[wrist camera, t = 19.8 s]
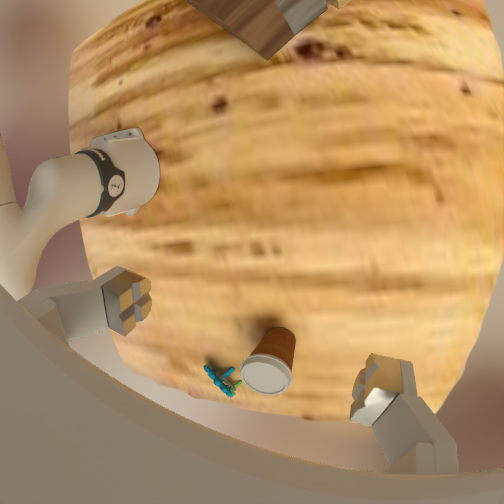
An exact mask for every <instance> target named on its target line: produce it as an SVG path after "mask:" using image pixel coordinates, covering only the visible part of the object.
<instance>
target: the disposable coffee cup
mask: <svg viewBox="0 0 504 504" xmlns="http://www.w3.org/2000/svg"><path fill="white" fill-rule="evenodd" d="M295 343H296V339H295V336H294V334H293V333H292V332H291V331H289V330H288V329H285V328H282V327H274V328H272V329H270V330H269V331H268V332H267V333H266V335H265V336H264V338H263V339H262V340H261V341H260V343H259V344H258V346H257V347H256V348H255V350H254V351H253V352H252V354H251V355H250V356H249V357H248V358H246V359H245V360H244V361H243V362H242V364H241V378H242V380H243V382H244V383H245V385H246V386H248V387H249V388H250V389H251V390H253V391H255V392H257V393H260V394H264V395H278V394H280V393H282V392H284V391H285V390H286V389H287V388H288V387H289V386H290V385H291V383H292V365H293V358H294V350H295Z"/></svg>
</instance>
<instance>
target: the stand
mask: <svg viewBox="0 0 504 504" xmlns="http://www.w3.org/2000/svg"><path fill="white" fill-rule="evenodd" d="M184 1H186V2H187V3H189V4H190V5H192V6H193V7H195V8H196V9H198V10H199V11H201V12H202V13H204V14H205V15H206V16H208V17H209V18H211V19H212V20H213V21H215V22H216V23H217V24H219V25H220V26H221V27H223V28H224V29H225V30H227V31H228V32H230V33H231V34H233V35H234V36H236V37H237V38H238V39H240V40H241V41H243V42H244V43H245V44H247V45H248V46H249V47H251V48H252V49H253V50H255V51H256V52H257V53H259V54H260V55H261V56H263V57H264V58H265V59H266V60H269V59H270V58H271V57H272V56H273V55H274V54H275V53H276V52H277V51H278V50H280V49H281V48H282V47H283V46H284V45H285V44H286V43H287V42H288V41H290V40H291V39H292V38H293V37H294V36H295V35H296V34H298V33H299V32H300V31H301V30H302V29H303V28H305V27H306V26H307V25H308V24H309V23H311V22H312V21H313V20H314V19H316V18H317V17H318V16H319V15H321V14H322V13H323V12H324V11H326V10H327V9H328V7H327V2H326V0H184Z"/></svg>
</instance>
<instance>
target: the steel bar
mask: <svg viewBox="0 0 504 504" xmlns="http://www.w3.org/2000/svg"><path fill="white" fill-rule="evenodd" d="M326 1H327V2H329V3H330V4H332V5H333V6H335V7H336V8H338V9H340V8H342V7H343V6H344V5H346V4H347V3H348V2H350V1H351V0H326Z"/></svg>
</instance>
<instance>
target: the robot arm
mask: <svg viewBox="0 0 504 504" xmlns="http://www.w3.org/2000/svg"><path fill="white" fill-rule="evenodd" d="M131 133H132V135H131ZM159 178H160V169H159V163H158V159H157V156H156V154H155V152H154V150H153V149H152V147H151V146H150V145H149V144H148V143H147V142H146V141H145V139H144V137H143V134H142V132H141V130H140V129H139V128H131V129H127V130H123V131H118V132H114V133H110V134H107V135H103V136H99V137H96V138H93V139H92V141H91V144H90V146H89V147H85V148H82V150H81V151H79V152H77V153H75V154H73V155H68V156H62V157H58V158H53V159H48V160H46V161H44V162H43V163H41V164H40V165H39V166H38V167H37V169H36V170H35V172H34V173H33V176H32V178H31V180H30V184H29V188H28V195H27V200H26V203H25V206H24V208H23V209H21V208H19V206H18V204H17V202H16V198H15V193H14V188H13V183H12V178H11V172H10V165H9V159H8V156H7V153H6V149H5V146H4V143H3V140H2V137H1V134H0V504H504V468H499V469H493V470H486V471H478V472H469V473H459V469H458V456H457V447H456V442H455V441H454V440H453V438H452V437H451V436H450V434H449V433H448V432H447V430H446V429H445V428H444V426H443V425H442V424H441V423H440V421H439V420H438V419H437V417H436V416H435V415H434V413H433V412H432V411H431V409H430V408H429V407H428V405H427V404H426V403H425V402H424V400H423V399H422V398H421V397H417V389H416V382H415V376H414V370H413V364H412V362H411V361H406V360H401V359H395V358H390V357H386V356H382V355H378V354H374V353H371V354H370V355H369V357H368V358H367V360H366V368H364V369H362V370H360V372H359V374H358V376H357V378H356V380H355V383H354V386H353V391H352V396H353V398H354V400H355V401H354V402H353V403H352V405H351V410H350V419H349V421H352V422H356V423H361V424H365V425H370V426H372V429H373V431H374V434H375V436H376V438H377V440H378V442H379V445H380V447H381V449H382V451H383V454H384V456H385V458H386V460H387V463H388V465H389V468H387V469H386V470H385V471H383V472H372V471H364V470H356V469H350V468H343V467H337V466H332V465H327V464H322V463H317V462H312V461H308V460H304V459H300V458H296V457H292V456H288V455H284V454H281V453H277V452H274V451H271V450H268V449H264V448H261V447H258V446H255V445H252V444H249V443H246V442H243V441H240V440H237V439H235V438H232V437H230V436H227V435H225V434H222V433H219V432H217V431H215V430H212V429H210V428H207V427H205V426H203V425H201V424H198V423H196V422H194V421H192V420H189V419H187V418H185V417H183V416H181V415H179V414H177V413H175V412H173V411H171V410H169V409H167V408H165V407H163V406H161V405H159V404H157V403H155V402H153V401H152V400H150V399H148V398H146V397H144V396H143V395H141V394H139V393H137V392H136V391H134V390H132V389H130V388H129V387H127V386H126V385H124V384H122V383H121V382H119V381H118V380H116V379H115V378H113V377H111V376H110V375H108V374H107V373H105V372H104V371H102V370H101V369H99V368H98V367H96V366H95V365H93V364H92V363H91V362H89V361H88V360H86V359H85V358H84V357H82V356H81V355H80V354H78V353H77V352H75V351H74V350H73V349H72V348H70V346H69V343H68V342H70V341H73V340H76V339H79V338H82V337H85V336H88V335H91V334H94V333H97V332H100V331H103V330H106V329H108V328H110V329H112V330H114V331H116V332H118V333H120V334H121V335H123V336H126V335H127V334H128V333H129V332H131V331H132V330H133V329H134V328H135V327H136V322H139V321H143V320H144V319H145V318H146V317H147V316H148V314H149V312H150V310H151V306H152V299H151V297H150V295H149V293H148V292H149V291H150V290H151V281H150V280H149V279H148V278H146V277H143V276H141V275H139V274H137V273H134V272H132V271H130V270H127V269H125V268H123V267H121V266H116V267H114V268H113V269H111V270H109V271H108V272H106V273H104V274H103V275H101V276H99V277H98V278H96V279H94V280H93V281H91V282H89V281H83V282H76V283H70V284H63V285H57V286H50V287H42V288H37V289H36V290H34V291H32V292H31V290H32V288H33V286H34V283H35V278H36V270H37V265H38V261H39V259H40V256H41V253H42V251H43V249H44V247H45V245H46V243H47V242H48V241H49V240H50V238H51V237H52V236H53V235H54V234H55V233H56V232H57V231H59V230H60V229H61V228H63V227H65V226H67V225H69V224H70V223H72V222H74V221H77V220H79V219H81V218H84V217H87V218H88V217H94V216H98V215H100V214H102V213H103V214H104V215H106V216H107V217H110V216H114V215H117V214H121V213H125V214H127V215H129V216H133V215H135V214H136V213H137V211H138V210H139V208H140V207H141V206H142V205H144V204H146V203H147V202H149V201H150V200H151V199H152V197H153V196H154V194H155V192H156V190H157V188H158V184H159ZM30 292H31V293H30Z"/></svg>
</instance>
